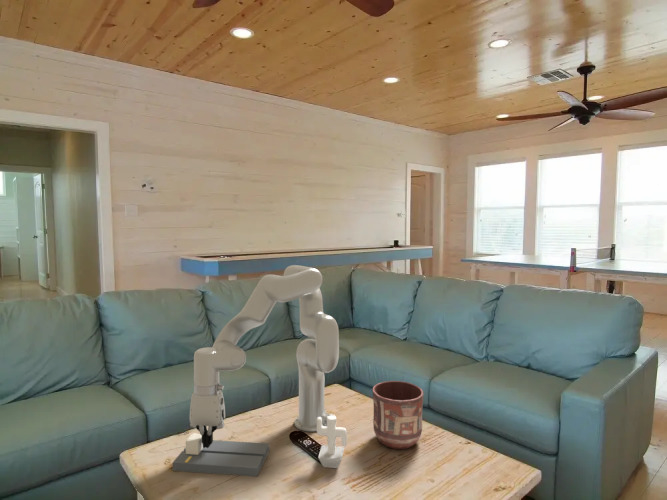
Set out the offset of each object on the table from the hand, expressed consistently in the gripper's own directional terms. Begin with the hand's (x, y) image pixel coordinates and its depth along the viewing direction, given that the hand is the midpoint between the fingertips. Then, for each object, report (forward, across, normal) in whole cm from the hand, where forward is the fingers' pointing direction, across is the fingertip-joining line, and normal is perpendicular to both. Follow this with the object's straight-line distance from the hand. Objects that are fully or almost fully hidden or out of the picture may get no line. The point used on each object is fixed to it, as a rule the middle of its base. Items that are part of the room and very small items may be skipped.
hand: (207, 445), depth 131 cm
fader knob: (+3, +4, 0) cm, 5 cm away
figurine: (+5, -39, -2) cm, 39 cm away
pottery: (+5, -60, -18) cm, 63 cm away
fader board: (+5, -5, 0) cm, 7 cm away
